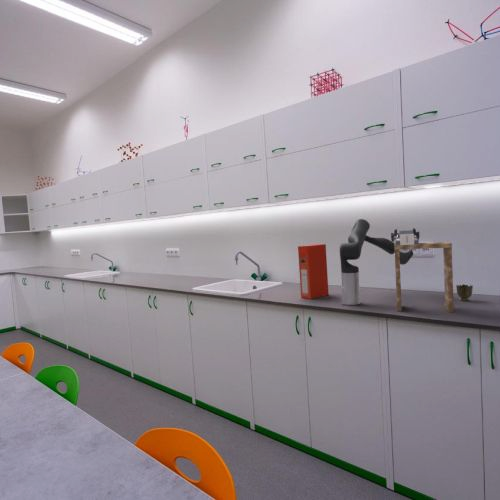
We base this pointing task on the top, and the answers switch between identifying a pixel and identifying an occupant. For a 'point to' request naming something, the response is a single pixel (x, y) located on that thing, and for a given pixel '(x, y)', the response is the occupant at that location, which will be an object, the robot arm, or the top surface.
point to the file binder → (313, 271)
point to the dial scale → (407, 240)
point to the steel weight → (405, 232)
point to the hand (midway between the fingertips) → (405, 230)
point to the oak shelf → (447, 270)
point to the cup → (464, 292)
